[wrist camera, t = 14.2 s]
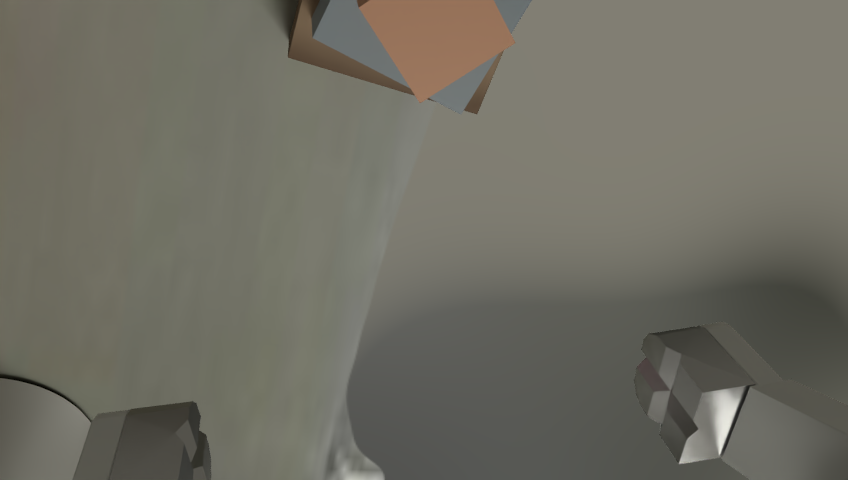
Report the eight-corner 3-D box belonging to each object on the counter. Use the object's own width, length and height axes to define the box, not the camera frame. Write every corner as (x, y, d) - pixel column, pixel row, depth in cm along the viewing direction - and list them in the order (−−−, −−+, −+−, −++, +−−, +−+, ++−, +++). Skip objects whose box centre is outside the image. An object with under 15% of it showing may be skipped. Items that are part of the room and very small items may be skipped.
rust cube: (406, 68, 32) (420, 103, 28) (352, -17, 30) (358, 7, 26) (488, 15, 31) (515, 42, 27) (440, -78, 29) (462, -63, 25)
